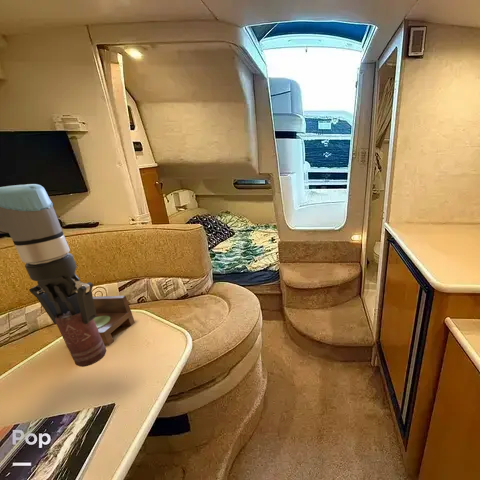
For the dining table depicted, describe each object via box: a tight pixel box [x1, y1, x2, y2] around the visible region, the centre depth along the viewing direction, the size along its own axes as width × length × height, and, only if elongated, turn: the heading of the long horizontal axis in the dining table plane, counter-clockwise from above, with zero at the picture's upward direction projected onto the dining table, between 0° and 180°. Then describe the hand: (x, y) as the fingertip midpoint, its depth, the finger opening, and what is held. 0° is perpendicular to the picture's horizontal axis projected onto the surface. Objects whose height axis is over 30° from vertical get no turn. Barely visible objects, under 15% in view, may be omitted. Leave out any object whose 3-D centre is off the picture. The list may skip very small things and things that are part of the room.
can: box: [55, 311, 107, 368], centre depth 65 cm, size 6×6×14 cm
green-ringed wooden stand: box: [93, 295, 136, 347], centre depth 91 cm, size 14×12×12 cm
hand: (86, 345), depth 66 cm, fingers closed on can
